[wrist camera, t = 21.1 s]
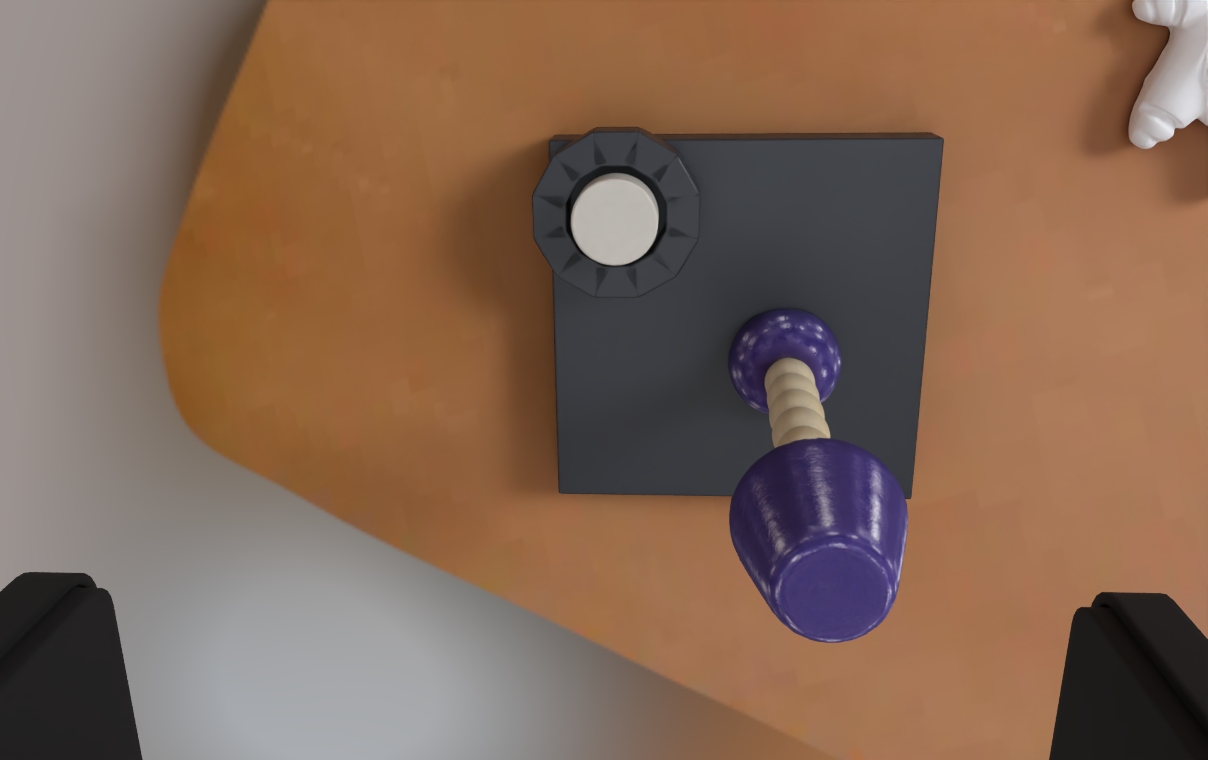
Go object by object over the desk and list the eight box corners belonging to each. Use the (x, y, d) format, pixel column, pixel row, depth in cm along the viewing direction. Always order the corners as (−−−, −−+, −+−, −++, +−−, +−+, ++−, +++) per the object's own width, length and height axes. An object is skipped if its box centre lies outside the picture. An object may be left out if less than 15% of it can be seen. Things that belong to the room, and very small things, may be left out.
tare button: (575, 256, 38) (571, 266, 36) (573, 172, 37) (569, 178, 36) (658, 256, 38) (658, 266, 36) (659, 172, 37) (658, 178, 35)
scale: (552, 474, 44) (542, 511, 41) (541, 122, 40) (529, 131, 36) (902, 480, 43) (920, 518, 40) (933, 119, 39) (957, 129, 35)
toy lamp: (794, 443, 41) (869, 708, 25) (690, 388, 41) (700, 623, 25) (862, 340, 39) (986, 554, 24) (754, 281, 39) (808, 460, 23)
